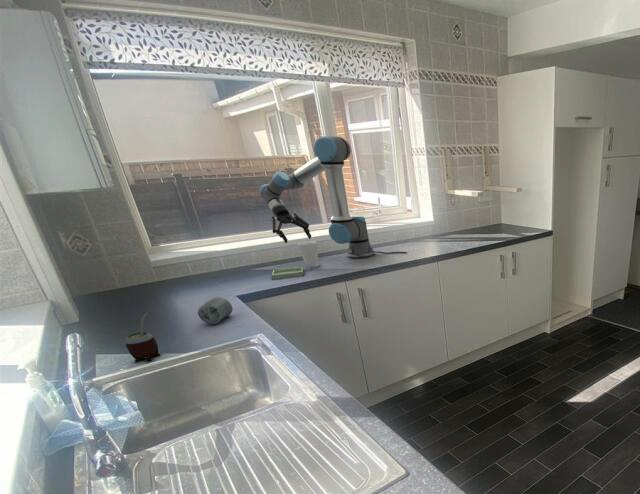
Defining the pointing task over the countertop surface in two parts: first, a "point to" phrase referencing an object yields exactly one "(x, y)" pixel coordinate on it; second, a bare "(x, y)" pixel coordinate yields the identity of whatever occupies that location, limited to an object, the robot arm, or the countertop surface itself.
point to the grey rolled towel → (215, 310)
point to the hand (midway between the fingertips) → (298, 239)
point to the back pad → (287, 273)
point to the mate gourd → (142, 344)
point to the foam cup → (309, 253)
